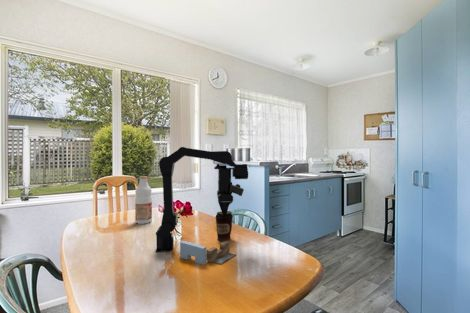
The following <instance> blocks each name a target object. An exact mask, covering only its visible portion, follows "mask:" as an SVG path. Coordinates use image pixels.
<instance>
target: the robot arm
mask: <svg viewBox="0 0 470 313" xmlns="http://www.w3.org/2000/svg"><path fill="white" fill-rule="evenodd" d="M184 157H191V158H197V159H205V160H209V161H213V162H216V163H217V164H216V165H215V166H214V167H213V168H214V170H217V172H218V176H217V179H218V180H217V183H218V184H217V185H218V186H217V188H218V189H217V191H216V196H217V202H218V205H219V207H220V210H221V211H220V212H222V214H223V216H224V217H226V215H227V211H228V210H229V206H230V205H231V204H232V203H234V196H233V194H235V195H238V196H239V197H242V195H243V194H244V191H245V190H244V188H243V187H241V185H240V184H238V183H236V184H235V185H234V184H233V182H232V178H234V179H235V180H248V179H249V169H248V164H247V163H242V164H236V162H235V161H234V160H233V159H232V158H233V156H232V154H231V152H229V151H227V150H223V151H222V150H220V151H219V150H217V151H216V150H215V151H210V150H203V149H202V150H201V149H195V148H189V147H186V146H181V147H179V148H178V149H177V150H175V151H174V152H173V153H171V154H170V155H168V156H163V157H161V158H160V159H159V161H158V166H159V170H160V173H161V176H162V194H163V195H162V196H163V198H162V199H163V214H162V217H161V218H162V219H161V224H160V226H159V227H158V229H157V230H156V232H155V237H156V241H155V242H156V243H155V244H156V249H155V252H156V253H158V252H169V251H173V248H174V246H175V244H174V236H173V232H174V230H175V228H176V226H177V225H178V223H179V219H178V211H177V212H175V209H174V191H173V190H174V189H173V176H174V170H175V164H176V163H177V162H178V161H180V160H181V159H182V158H184ZM219 163H220V164H219ZM221 164H222V165H221ZM227 166H229V167H227Z"/></svg>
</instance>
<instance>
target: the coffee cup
mask: <svg viewBox="0 0 470 313" xmlns="http://www.w3.org/2000/svg"><path fill="white" fill-rule="evenodd" d="M233 217H234V215H233V213H232V211H227V215H226V217H224V216H223V214H222V211H217V212H216V215H215V224H216V226H215V227H216V235H217V241H221V242H225V241H228V242H230V241H231V239H232V238H231V233H232V228H233V219H234V218H233Z"/></svg>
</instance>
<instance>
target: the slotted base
mask: <svg viewBox="0 0 470 313" xmlns="http://www.w3.org/2000/svg"><path fill="white" fill-rule="evenodd" d="M230 250H231V249H230V241H222V242H221V243H219V249H218V247H215V246H212V247H210V248H208V249H206V262H209V263H214V264H218V265H222V264H224V263H227V262H228V261H230V260H231V259H233V258H235V257H236V256H237V254H236V253H231V252H230Z"/></svg>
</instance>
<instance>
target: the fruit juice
mask: <svg viewBox="0 0 470 313" xmlns="http://www.w3.org/2000/svg"><path fill="white" fill-rule="evenodd" d="M138 178H139V179H138V180H139V182H138V184H137V187H136V188H135V196H136V197H135V200H134V201H135V202H134V204H135V205H134V209H135V210H134V214H135V216H134V219H135V220H134V221H135V224H136V223H138V224H137V225H145V224H144V223H148V224H150V223H152V222H153V213H152V212H153V210H152V208H153V207H152V205H153V204H152V203H153V202H152V201H153V200H152V187H151V186H150V185H149V182H148V179H149V178H148V176H147V175H141V176H139V177H138ZM149 222H150V223H149Z"/></svg>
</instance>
